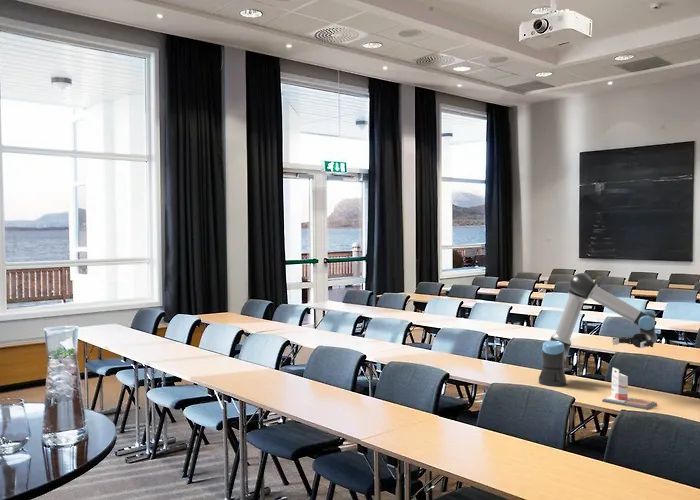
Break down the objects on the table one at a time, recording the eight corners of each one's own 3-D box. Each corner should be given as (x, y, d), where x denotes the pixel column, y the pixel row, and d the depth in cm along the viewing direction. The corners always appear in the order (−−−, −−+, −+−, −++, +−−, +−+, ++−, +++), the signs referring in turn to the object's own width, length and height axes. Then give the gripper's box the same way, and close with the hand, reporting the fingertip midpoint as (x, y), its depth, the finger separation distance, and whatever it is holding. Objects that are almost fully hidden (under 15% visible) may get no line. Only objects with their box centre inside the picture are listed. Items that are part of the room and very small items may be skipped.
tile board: (602, 401, 309) (602, 398, 309) (613, 397, 320) (613, 393, 320) (646, 409, 295) (646, 406, 295) (656, 404, 306) (656, 401, 306)
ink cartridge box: (628, 400, 307) (628, 370, 307) (618, 399, 307) (618, 370, 307) (620, 396, 315) (621, 367, 315) (610, 395, 315) (611, 367, 316)
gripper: (666, 350, 325) (652, 354, 310) (617, 344, 342) (602, 348, 327) (666, 335, 325) (653, 339, 310) (617, 330, 343) (602, 333, 327)
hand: (627, 343), depth 318 cm, fingers open, 13 cm apart
